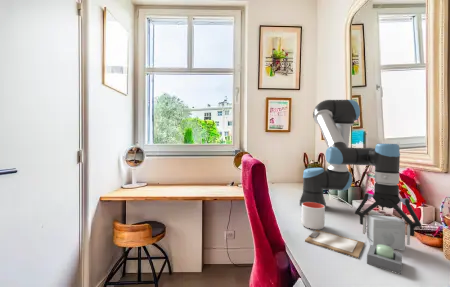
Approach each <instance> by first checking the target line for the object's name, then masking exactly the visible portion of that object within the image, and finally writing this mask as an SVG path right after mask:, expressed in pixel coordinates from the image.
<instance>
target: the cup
mask: <svg viewBox="0 0 450 287" xmlns="http://www.w3.org/2000/svg"><path fill="white" fill-rule="evenodd" d="M325 210H326V208H325V206H324V205H322V204H319V203H314V202H304V203H302V206H301V216H300V217H301V220H300V222H301V225H302V226H303V227H304V226H305V227H304V228H307V229H309V228H310V230H314V229H317V230H318V229H319V230H322V229H324V227H325V219H326V218H325V217H326V216H325V214H326V213H325V212H326V211H325Z"/></svg>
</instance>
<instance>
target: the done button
mask: <svg viewBox="0 0 450 287" xmlns="http://www.w3.org/2000/svg"><path fill="white" fill-rule="evenodd" d="M393 251H394V249H392V248H391V247H389V246H386V245H377V254H376V255H379V256H382V257H385V258H389V259H392V260H393Z"/></svg>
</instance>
